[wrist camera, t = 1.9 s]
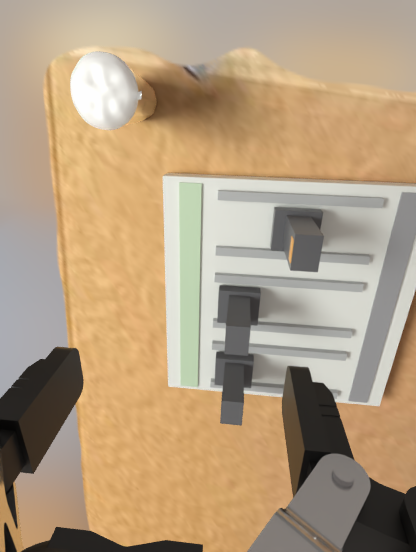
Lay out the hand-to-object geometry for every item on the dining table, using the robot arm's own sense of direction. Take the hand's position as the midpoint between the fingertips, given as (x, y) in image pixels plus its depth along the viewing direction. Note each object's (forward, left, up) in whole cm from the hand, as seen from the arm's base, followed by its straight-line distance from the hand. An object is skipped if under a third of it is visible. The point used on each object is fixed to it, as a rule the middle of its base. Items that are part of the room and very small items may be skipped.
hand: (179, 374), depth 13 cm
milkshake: (+7, -10, -23) cm, 26 cm away
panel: (-7, +8, -23) cm, 25 cm away
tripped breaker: (-7, 0, -20) cm, 21 cm away
